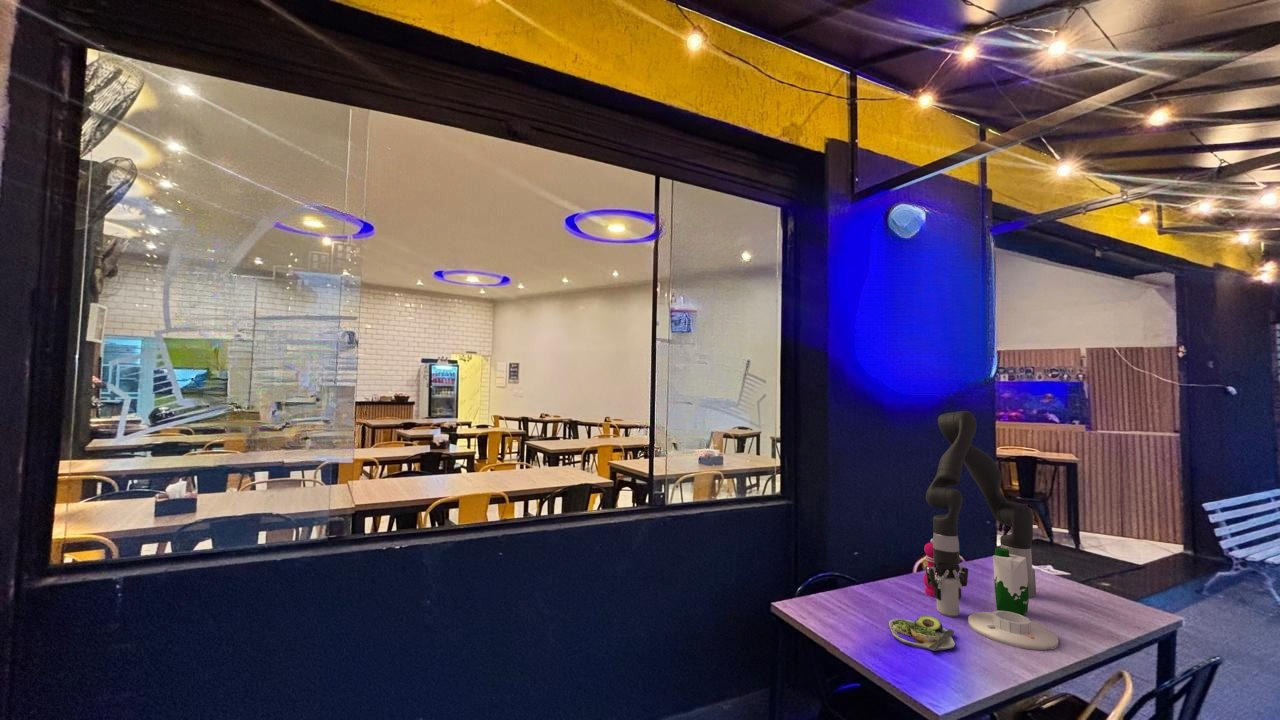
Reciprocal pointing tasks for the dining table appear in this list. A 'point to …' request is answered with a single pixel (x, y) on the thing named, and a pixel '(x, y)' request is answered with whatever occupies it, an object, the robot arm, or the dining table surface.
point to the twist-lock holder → (1013, 630)
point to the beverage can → (949, 597)
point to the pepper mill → (929, 557)
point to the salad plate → (923, 633)
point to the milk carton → (1010, 582)
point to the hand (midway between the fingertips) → (947, 598)
